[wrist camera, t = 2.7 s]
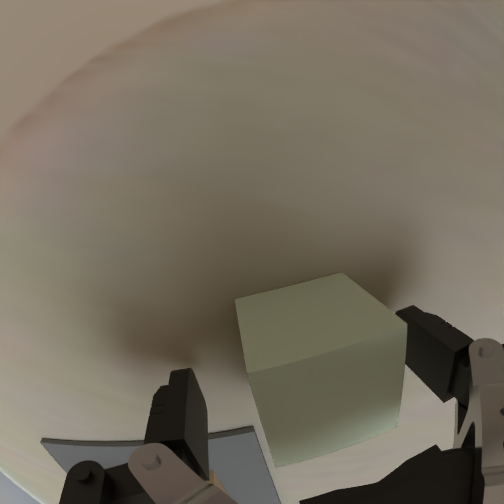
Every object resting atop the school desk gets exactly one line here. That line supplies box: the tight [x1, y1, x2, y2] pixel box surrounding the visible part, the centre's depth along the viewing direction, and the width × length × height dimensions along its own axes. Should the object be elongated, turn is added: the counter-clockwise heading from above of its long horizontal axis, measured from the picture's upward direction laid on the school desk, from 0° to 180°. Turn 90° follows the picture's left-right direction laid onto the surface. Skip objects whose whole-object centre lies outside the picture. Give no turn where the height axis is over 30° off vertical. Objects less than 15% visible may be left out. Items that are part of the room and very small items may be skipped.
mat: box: [40, 426, 281, 504], centre depth 15 cm, size 14×14×1 cm
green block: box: [235, 272, 407, 467], centre depth 10 cm, size 4×4×5 cm
